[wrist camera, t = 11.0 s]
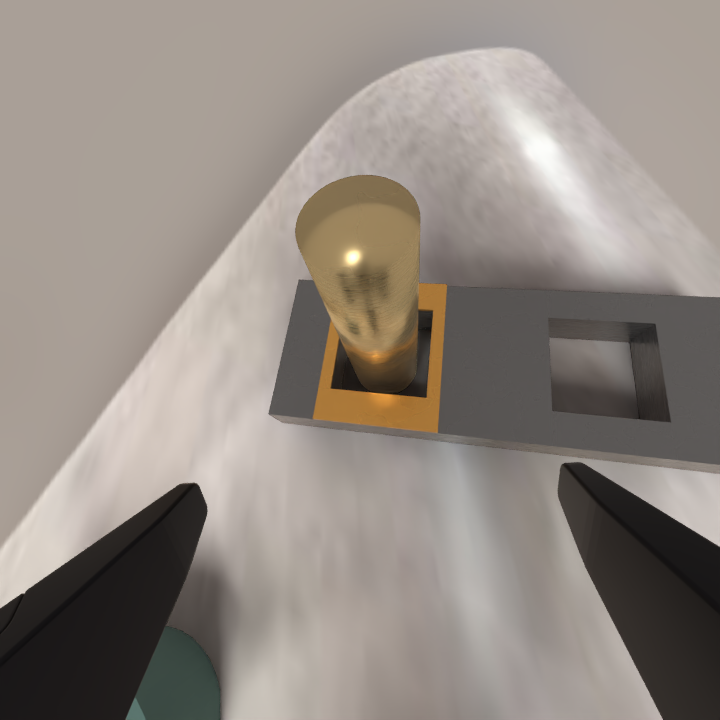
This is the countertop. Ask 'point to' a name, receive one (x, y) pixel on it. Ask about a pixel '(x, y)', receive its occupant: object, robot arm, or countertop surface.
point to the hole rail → (522, 374)
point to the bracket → (177, 682)
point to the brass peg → (367, 273)
